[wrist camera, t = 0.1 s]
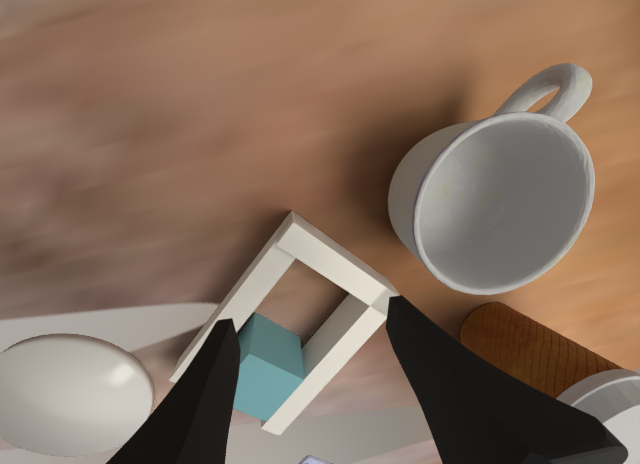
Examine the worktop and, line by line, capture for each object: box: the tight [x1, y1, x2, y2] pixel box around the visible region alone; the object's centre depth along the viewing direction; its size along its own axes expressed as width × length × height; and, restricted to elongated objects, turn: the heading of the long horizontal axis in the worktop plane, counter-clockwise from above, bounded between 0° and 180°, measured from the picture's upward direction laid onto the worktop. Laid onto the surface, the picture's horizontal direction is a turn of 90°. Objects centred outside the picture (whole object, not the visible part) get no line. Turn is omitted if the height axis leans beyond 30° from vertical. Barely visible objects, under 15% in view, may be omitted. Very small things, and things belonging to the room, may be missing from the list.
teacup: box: [388, 63, 595, 295], centre depth 18 cm, size 14×11×8 cm
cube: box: [233, 312, 304, 422], centre depth 22 cm, size 5×5×5 cm
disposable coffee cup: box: [460, 303, 640, 464], centre depth 22 cm, size 10×10×12 cm
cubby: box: [169, 210, 400, 435], centre depth 22 cm, size 17×11×4 cm, turn 142°
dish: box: [0, 334, 155, 457], centre depth 23 cm, size 13×13×1 cm
